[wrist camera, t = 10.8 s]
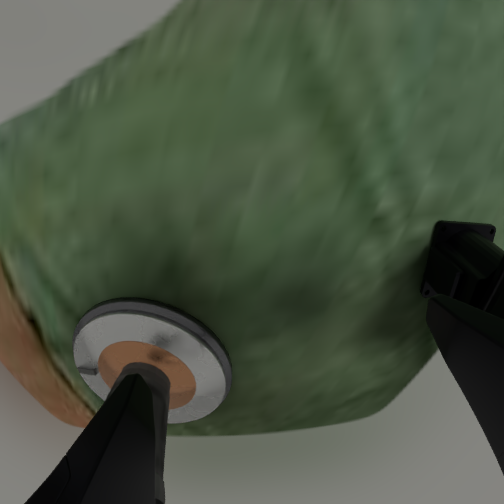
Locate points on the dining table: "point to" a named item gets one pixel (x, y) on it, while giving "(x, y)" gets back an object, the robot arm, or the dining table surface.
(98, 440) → the robot arm
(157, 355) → the disc
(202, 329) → the base
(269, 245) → the dining table surface
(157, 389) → the beverage cup
